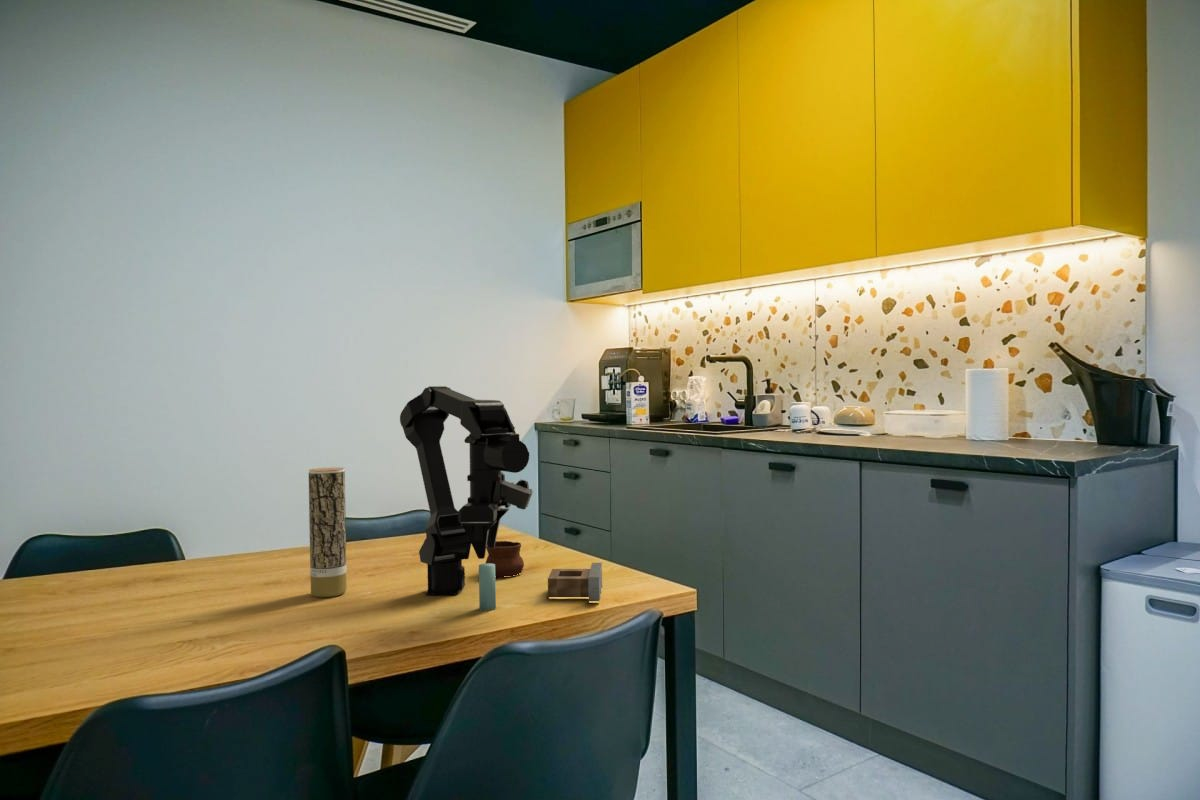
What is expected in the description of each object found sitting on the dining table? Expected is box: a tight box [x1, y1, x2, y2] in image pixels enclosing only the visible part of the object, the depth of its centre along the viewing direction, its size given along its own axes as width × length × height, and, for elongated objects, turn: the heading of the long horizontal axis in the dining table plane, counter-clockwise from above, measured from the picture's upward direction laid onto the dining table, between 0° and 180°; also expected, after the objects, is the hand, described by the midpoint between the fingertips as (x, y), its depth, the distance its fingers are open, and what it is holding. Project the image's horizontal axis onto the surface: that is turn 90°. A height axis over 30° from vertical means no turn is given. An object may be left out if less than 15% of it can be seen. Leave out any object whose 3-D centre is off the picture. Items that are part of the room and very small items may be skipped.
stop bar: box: [588, 562, 603, 602], centre depth 149 cm, size 2×12×5 cm, turn 177°
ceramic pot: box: [484, 540, 525, 578], centre depth 168 cm, size 18×18×7 cm
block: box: [547, 568, 591, 598], centre depth 150 cm, size 8×8×4 cm
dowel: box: [478, 562, 497, 611], centre depth 141 cm, size 3×3×8 cm
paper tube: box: [308, 467, 348, 598], centre depth 152 cm, size 7×7×25 cm
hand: (486, 552), depth 141 cm, fingers open, 9 cm apart
